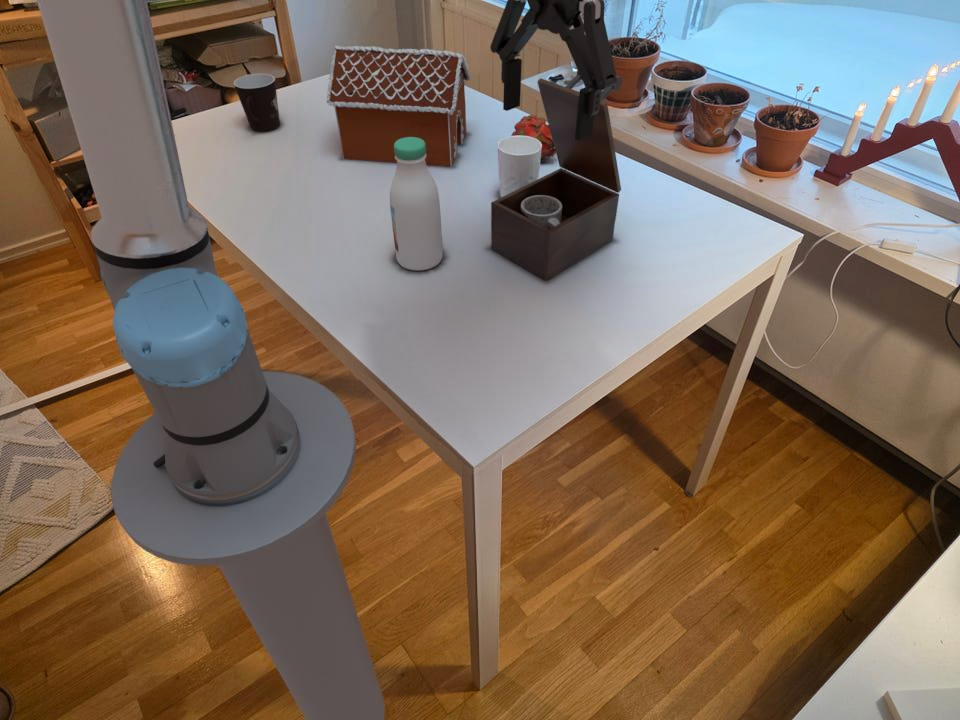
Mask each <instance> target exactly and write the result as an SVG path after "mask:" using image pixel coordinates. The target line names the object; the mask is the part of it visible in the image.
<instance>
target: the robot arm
mask: <svg viewBox="0 0 960 720" xmlns="http://www.w3.org/2000/svg"><path fill="white" fill-rule="evenodd" d="M36 3H37V6H38V10H39V13H40V16H41V20H42V23H43V27H44V30H45V34H46V37H47V41H48V43H49V47H50V49H51V53H52V56H53V60H54V63H55V66H56V71H57V73H58V77H59V79H60V83H61V86H62V91H63V93H64V97H65V100H66V103H67V104H66V105H67V106H68V109H69V114H70V117H71V120H72V124H73V126H74V130H75V133H76V137H77V139H78V143H79V147H80V150H81V153H82V157H83V160H84V164H85V167H86V170H87V174H88V177H89V180H90V184H91V187H92V190H93V193H94V197H95V200H96V204H97V207H98V211H99V214H100V218H99V219H98V220H97V222H95V224H94V225H93V226H92V229H91V231H90V239H91V243H92V245H93V248H94V249H93V250H94V252H95V256H96V258H97V261H98V265H99V268H100V272H99V273H100V276H101V277H100V278H101V281H102V284H103V287H104V289H105V291H106V293H107V295H108V297H109V299H110V302H111V306H112V309H113V311H114V312H113V317H112V327H113V332H114V335H115V339H116V340H115V341H116V345H117V347H118V350H119V352H120V355H121V356H122V358H123V360H124V361H125V362H126V363H127V364H128V365H129V367H130V368H131V369H132V372H133V373H134V375H135V377H136V379H137V381H138V382H139V384H140V387H141V388H142V391H143V392H144V394H145V396H146V398H147V399H148V401H149V404H150V406H151V408H152V410H153V412H154V413H156V415H157V417H158V419H159V421H160V422H161V424H162V426H163V428H164V430H165V454H164V455H163V456H162V457H160V458H159V459H157V460H156V461H155V462H154V463H153V464H154V466H155V467H156V468H159V467H161V466H162V465H164V464H165V466H166V470H167V473H168V475H169V477H170V479H171V481H172V482H173V484H174V486H175V488H176V489H177V490H178V491H179V492H180V493H181V494H182V495H183V496H184V497H186V498H187V499H189V500H191V501H193V502H196V503H199V504H203V505H209V506H227V505H234V504H238V503H242V502H245V501H248V500H251V499H253V498H256V497H258V496H260V495H262V494H264V493H265V492H267V491H269V490H270V489H272V488H273V487H274V486H276V485H277V484H278V483H279V482H280V481H281V480H283V478H284V477H285V476H286V475H287V474H288V473H289V472H290V470H291V469H292V467H293V466H294V464H295V462H296V460H297V458H298V455H299V452H300V447H301V438H300V433H299V430H298V427H297V423H296V421H295V418H294V417H293V415H292V414H291V412H290V411H289V410H288V409H287V408H286V407H285V406H284V405H283V404H282V403H281V402H280V401H279V400H278V399H277V398H276V397H275V396H274V395H273V394H272V393H271V392H270V391H269V389H268V387H267V384H266V381H265V378H264V375H263V372H262V371H263V370H262V366H261V362H260V361H259V357H258V355H257V351H256V349H255V345H254V343H253V339H252V337H251V335H250V331H249V328H248V323H247V316H246V313H245V310H244V308H243V305H242V304H241V301H240V300H239V298H238V297H237V295H236V293H235V292H234V290H233V289H232V288H231V286H230V285H229V284H228V283H227V282H226V281H224V280H223V279H222V278H221V277H219V275H218V272H217V268H216V264H215V259H214V254H213V249H212V243H211V238H210V233H209V228H208V223H207V220H206V219H205V217H204V216H203V215H202V214H201V213H199V212H198V211H197V210H194V209H193V208H191V207H190V206H189V202H188V198H187V197H188V196H187V191H186V187H185V186H186V185H185V181H184V177H183V172H182V167H181V161H180V156H179V153H178V147H177V141H176V137H175V133H174V127H173V122H172V117H171V112H170V108H169V103H168V98H167V93H166V88H165V83H164V78H163V73H162V69H161V63H160V57H159V53H158V49H157V43H156V38H155V33H154V27H153V24H152V19H151V15H150V14H151V13H150V10H149V3H148V0H36ZM526 4H528V7H529V9H528V10H527V12H526V13H525V15H524V16H523V17H522V15H523V12H524V10H525V7H526ZM605 6H606V5H605V0H507V1H506V3H505V6H504V9H503V11H502V15H501V16H500V20H499V22H498V25H497V28H496V30H495V33H494V35H493V38H492V41H491V43H490V47H489V48H490V51H491V53H492V54H495V53H496V54H497V55H498V56H499V60H500V61H501V72H500V73H501V76H500V78H501V83H502V84H503V99H502V100H503V101H502V103H503V105H502V109H503V110H504V111H506V112H509V111H510V110H513V109H516V108H518V107H520V106H521V91H522V90H521V89H522V88H521V87H522V66H523V65H522V63H523V60H522V58H518V57H519V56H521V54H520V53H521V51H522V50H523V49H524V47H526V45H527V44H528V42H529V41H530V39H531V38H532V37H533V36H534V34H535V33H536V32H537V31H538V30H541V31H549V32H550V33H551V34H555V35H559V37H560V39H561V40H562V41H563V42H565V44H566V46H567V48H568V50H569V53H570V55H571V57H572V60H573V62H574V64H575V67H576V69H577V70H578V71H579V74H580V76H581V78H582V80H581V81H582V83H583V85H584V87H582V88H580V89H579V92H580V93H579V102H578V112H577V122H576V132H575V139H576V140H581V139H584V138H586V137H588V136H590V135H592V131H593V123H594V115H595V114H597V113H598V112H599V109H600V101H601V93H602V91H603V90H604V89H606V88H609V87H611V86H614V85H615V84H616V83H617V77H616V76H617V73H616V68H615V64H614V63H615V62H614V59H613V55H612V49H611V45H610V40H609V37H608V31H607V27H606V22H605ZM521 17H522V19H521ZM520 21H521V23H520V24H519V22H520ZM518 25H519V26H518ZM572 27H573V28H572ZM592 77H593V78H592Z"/></svg>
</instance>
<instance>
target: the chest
mask: <svg viewBox="0 0 960 720" xmlns="http://www.w3.org/2000/svg"><path fill="white" fill-rule="evenodd" d="M535 195H546V196H551V197H554V198H556V199H557V200H559V201H560V202H561V204H562V214H561V223H560V224H558V225H556V226H555V227H553V228H551V229H548V228H546V227H544V226H542V225H540V224H538V223H536V222H534V221H532V220H531V219H529V218H527V217H525V216H523V215H521V203H522V201H523V200H524V199H526V198H528V197H531V196H535ZM619 199H620V194H619V193H617V192H615V191H613V190H610V189H608V188H606V187H604V186H601V185H599V184H597V183H595V182H593V181H590V180H588V179H586V178H584V177H581V176H579V175H577V174H575V173H572V172H570V171H568V170H566V169H563V168H561V167H559V168H558V169H556V170H554V171H552V172H550V173H548V174H546V175H544V176H542V177H540V178H538V180H536V181H534V182H532V183H530V184H528V185H526V186H524V187H522V188H520V189H517V190H515V191H513V192H511V193H509V194H507V195H505V196H503V197H501V196H500V197H499V198H498V199H495V200H494V201H493V200H492V201H491V202H490V210H491V211H490V240H491V241H490V250H492V251H493V252H495V253H497V254H499V255H501V256H503V257H504V258H506V259H507V260H509V261H511V262H512V263H514V264H516V265H518V266H519V267H521V268H523V269H525V270H526V271H528V272H530V273H532V274H533V275H535V276H537V277H538V278H540V279H541V280H544V281H545V282H547V281H549V280H550V279H553V278H554V277H555V276H557V275H559V274H560V273H562V272H564V271H565V270H567V269H568V268H570V267H572V266H574V265H575V264H577V263H579V262H580V261H582V260H584V259H585V258H587V257H588V256H590V255H592V254H593V253H595V252H597V251H598V250H600V249H601V248H603V247H605V246H607V245H608V244H610V243H611V242H613V240H614V233H615V225H616V220H617V214H618V207H619V206H618V205H619Z"/></svg>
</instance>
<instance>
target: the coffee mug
mask: <svg viewBox="0 0 960 720" xmlns="http://www.w3.org/2000/svg"><path fill="white" fill-rule="evenodd" d="M233 86H234V88H235V89H234V90H235V91H236V93H237V96H238V99H239V101H240V104H241V106H242V110H243V112H244V114H245V116H246V119H247V122H248V124H249V127H250V129H251V131H253V132H255V133H269V132H273V131H275V130H277V129H278V128H280V126H281V122H280V113H279V112H280V111H279V103H278V94H277V85H276V77H275V76H274V75H272V74H269V73H251V74H250V73H249V74H246V75H242V76H239V77H238V78H236V79H235V80H234V81H233Z"/></svg>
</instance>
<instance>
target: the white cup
mask: <svg viewBox="0 0 960 720" xmlns="http://www.w3.org/2000/svg"><path fill="white" fill-rule="evenodd" d="M496 145H497V167H498V170H497V171H498V182H499V196H500V198H501V197H503V196H505V195H507V194H509V193H511V192H513V191H515V190H517V189H520V188H522V187H524V186H526V185H528V184H530V183H532V182H534V181H536V180H538V179H539V177H540V169H541V162H540V159H542V157H541V150H542V144H541V142H540V141H539V140H537V139H535V138H533V137H529V136H520V135H518V136H511V135H510V136H506V137H504V138H502V139H500V140H498V142H497V144H496Z"/></svg>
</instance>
